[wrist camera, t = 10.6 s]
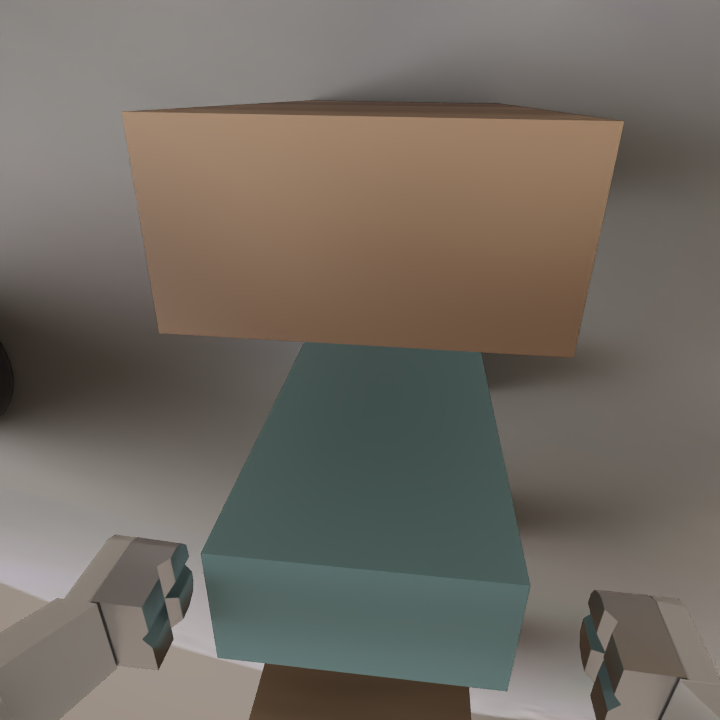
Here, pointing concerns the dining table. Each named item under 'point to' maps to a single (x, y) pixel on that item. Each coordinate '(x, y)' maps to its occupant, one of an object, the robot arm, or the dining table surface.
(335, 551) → the domino
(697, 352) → the dining table surface
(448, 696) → the domino
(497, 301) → the domino
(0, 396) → the travel mug
